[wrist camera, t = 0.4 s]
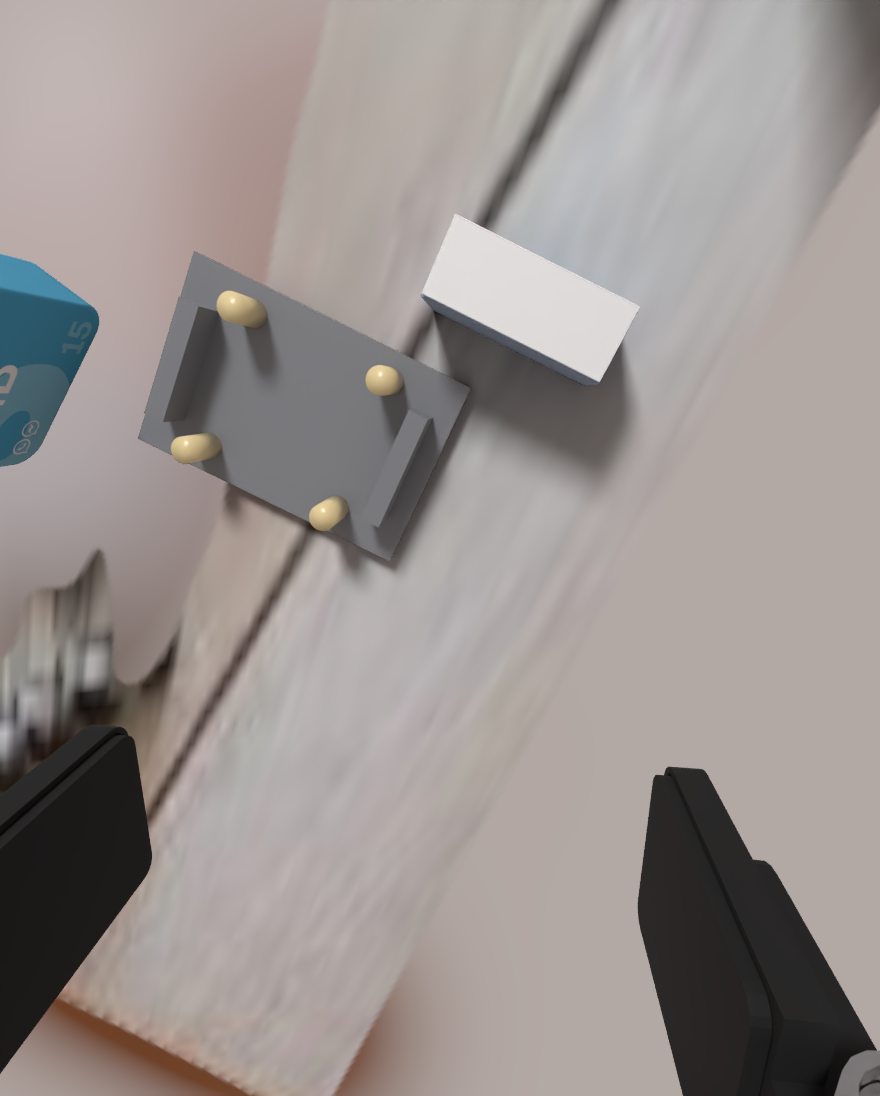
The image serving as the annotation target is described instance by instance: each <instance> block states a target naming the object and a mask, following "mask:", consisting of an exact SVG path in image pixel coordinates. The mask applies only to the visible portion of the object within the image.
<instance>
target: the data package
mask: <svg viewBox="0 0 880 1096" xmlns="http://www.w3.org/2000/svg"><path fill="white" fill-rule="evenodd" d="M98 326H99V316H98V313H97V311H96V310H95V309H94V308H93V307H92V306H91V305H89V304H88V303H87V302H85V301H84V300H83V299H81V298H80V297H79V296H77V295H76V294H75V293H73V292H72V291H71V290H69V289H68V288H67V287H65V286H64V285H62V284H61V283H60V282H58V281H57V280H56V279H54V278H53V277H52V276H50V275H49V274H48V273H46V272H45V271H44V270H42V269H41V268H40V267H38V266H37V265H36V264H34V263H32V262H29V261H25V260H21V259H18V258H14V257H11V256H7V255H3V254H0V467H1V466H8V465H14V464H18V463H20V462H23V461H25V460H27V459H28V458H30V457H31V456H32V455H33V454H34V453H35V452H36V451H37V450H38V449H39V447H40V446H41V444H42V442H43V440H44V438H45V436H46V434H47V432H48V430H49V428H50V426H51V424H52V422H53V420H54V418H55V416H56V414H57V412H58V410H59V408H60V406H61V403H62V401H63V400H64V398H65V396H66V394H67V391H68V389H69V387H70V385H71V383H72V381H73V379H74V377H75V375H76V373H77V371H78V369H79V367H80V365H81V363H82V361H83V359H84V357H85V355H86V353H87V351H88V349H89V346H90V345H91V343H92V341H93V338H94V337H95V334H96V332H97V330H98Z"/></svg>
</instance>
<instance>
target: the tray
mask: <svg viewBox="0 0 880 1096" xmlns="http://www.w3.org/2000/svg"><path fill="white" fill-rule="evenodd" d="M470 391H471V388H470V387H468V386H466V385H464V384H462V383H460V382H458V381H456V380H454V379H452V378H450V377H448V376H446V375H444V374H442V373H440V372H438V371H436V370H434V369H432V368H430V367H428V366H426V365H424V364H422V363H420V362H418V361H416V360H414V359H412V358H410V357H408V356H406V355H404V354H402V353H400V352H398V351H396V350H394V349H392V348H390V347H388V346H386V345H384V344H382V343H380V342H378V341H376V340H374V339H372V338H370V337H368V336H366V335H363V334H361V333H359V332H357V331H355V330H353V329H351V328H349V327H347V326H345V325H343V324H341V323H339V322H337V321H335V320H333V319H331V318H329V317H327V316H325V315H323V314H321V313H319V312H317V311H315V310H313V309H311V308H309V307H307V306H305V305H303V304H301V303H299V302H297V301H295V300H293V299H291V298H289V297H287V296H285V295H283V294H281V293H279V292H277V291H275V290H273V289H271V288H269V287H267V286H265V285H263V284H261V283H259V282H257V281H255V280H253V279H251V278H249V277H247V276H245V275H243V274H241V273H239V272H237V271H234V270H232V269H230V268H228V267H226V266H224V265H222V264H220V263H218V262H216V261H214V260H212V259H210V258H208V257H206V256H204V255H202V254H200V253H198V252H195V251H194V253H193V256H192V259H191V263H190V266H189V270H188V273H187V276H186V279H185V283H184V286H183V290H182V293H181V296H180V297H179V298H178V302H177V305H176V309H175V312H174V315H173V319H172V322H171V325H170V329H169V332H168V335H167V339H166V342H165V346H164V349H163V352H162V355H161V359H160V362H159V366H158V369H157V372H156V376H155V379H154V382H153V386H152V389H151V392H150V396H149V399H148V402H147V406H146V409H145V417H144V420H143V423H142V427H141V430H140V433H139V437H138V439H140V440H142V441H144V442H146V443H148V444H150V445H152V446H154V447H156V448H158V449H160V450H162V451H164V452H167V453H168V454H171V455H173V457H174V458H175V459H176V460H177V461H178V462H180V463H182V464H191V465H193V466H195V467H197V468H199V469H201V470H203V471H205V472H207V473H209V474H212V475H214V476H216V477H218V478H220V479H222V480H224V481H226V482H228V483H230V484H232V485H234V486H236V487H238V488H240V489H242V490H244V491H246V492H248V493H250V494H252V495H255V496H257V497H259V498H261V499H263V500H265V501H267V502H269V503H271V504H273V505H275V506H277V507H279V508H281V509H283V510H285V511H287V512H289V513H291V514H293V515H296V516H298V517H300V518H302V519H304V520H306V521H308V522H310V523H311V525H312V526H313V527H314V528H315V529H317V530H320V531H328V532H330V533H332V534H334V535H337V536H339V537H341V538H343V539H345V540H347V541H349V542H351V543H353V544H355V545H357V546H359V547H361V548H363V549H365V550H367V551H369V552H371V553H373V554H376V555H378V556H380V557H382V558H384V559H386V560H388V561H390V559H391V558H392V556H393V554H394V552H395V550H396V548H397V546H398V543H399V541H400V539H401V537H402V535H403V533H404V531H405V529H406V526H407V524H408V522H409V520H410V518H411V516H412V514H413V512H414V509H415V507H416V505H417V503H418V501H419V499H420V497H421V495H422V492H423V490H424V488H425V486H426V484H427V482H428V480H429V478H430V475H431V473H432V471H433V469H434V467H435V465H436V463H437V461H438V458H439V456H440V454H441V452H442V450H443V448H444V446H445V444H446V442H447V439H448V437H449V435H450V433H451V431H452V429H453V427H454V425H455V422H456V420H457V418H458V416H459V414H460V412H461V410H462V408H463V405H464V403H465V401H466V399H467V397H468V395H469V393H470Z"/></svg>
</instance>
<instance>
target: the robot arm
mask: <svg viewBox="0 0 880 1096" xmlns="http://www.w3.org/2000/svg"><path fill="white" fill-rule="evenodd" d="M151 861H152V851H151V844H150V838H149V831H148V825H147V818H146V812H145V805H144V799H143V792H142V786H141V779H140V773H139V766H138V760H137V753H136V747H135V742H134V739H133V738H132V737H131V736H128V733H127V731H126V730H125V729H124V728H122V727H114V726H100V725H91V726H87V727H86V728H84V729H83V730H81V731H80V732H79V733H78V734H76V735H75V736H74V737H73V738H71V739H70V740H69V741H68V742H66V743H65V744H64V745H63V746H61V747H60V748H59V749H58V750H56V751H55V752H54V753H53V754H51V755H50V756H49V757H48V758H46V759H45V760H44V761H43V762H41V763H40V764H39V765H38V766H36V767H35V768H34V769H33V770H31V771H30V772H29V773H28V774H26V775H25V776H24V777H23V778H21V779H20V780H19V781H18V782H16V783H15V784H14V785H13V786H11V787H10V788H9V789H8V790H6V791H5V792H4V793H3V794H1V795H0V1073H1V1072H2V1071H3V1069H4V1068H5V1067H6V1065H7V1064H8V1062H9V1061H10V1059H11V1058H12V1057H13V1056H14V1054H15V1053H16V1052H17V1050H18V1049H19V1048H20V1046H21V1045H22V1044H23V1042H24V1041H25V1039H26V1038H27V1037H28V1035H29V1034H30V1033H31V1031H32V1030H33V1028H34V1027H35V1026H36V1024H37V1023H38V1022H39V1021H40V1019H41V1018H42V1016H43V1015H44V1014H45V1012H46V1011H47V1009H48V1008H49V1007H50V1006H51V1004H52V1003H53V1002H54V1000H55V999H56V998H57V996H58V995H59V993H60V992H61V991H62V989H63V988H64V987H65V985H66V984H67V983H68V981H69V980H70V979H71V977H72V976H73V974H74V973H75V972H76V970H77V969H78V968H79V966H80V965H81V964H82V962H83V961H84V960H85V958H86V957H87V956H88V954H89V953H90V951H91V950H92V949H93V947H94V946H95V945H96V943H97V942H98V941H99V939H100V938H101V937H102V935H103V934H104V933H105V931H106V930H107V928H108V927H109V926H110V924H111V923H112V922H113V920H114V919H115V918H116V916H117V915H118V914H119V912H120V911H121V910H122V908H123V907H124V905H125V904H126V903H127V901H128V900H129V899H130V897H131V896H132V895H133V893H134V892H135V891H136V889H137V888H138V887H139V885H140V884H141V882H142V881H143V880H144V878H145V877H146V875H147V873H148V871H149V869H150V865H151ZM638 917H639V924H640V929H641V933H642V937H643V941H644V945H645V949H646V952H647V956H648V960H649V964H650V968H651V972H652V976H653V980H654V984H655V988H656V992H657V996H658V999H659V1003H660V1007H661V1011H662V1015H663V1019H664V1023H665V1027H666V1030H667V1035H668V1039H669V1043H670V1046H671V1050H672V1054H673V1058H674V1062H675V1066H676V1070H677V1074H678V1078H679V1082H680V1086H681V1089H682V1093H683V1096H880V1051H877V1049H876V1048H875V1046H874V1044H873V1042H872V1041H871V1039H870V1037H869V1036H868V1034H867V1032H866V1030H865V1028H864V1027H863V1025H862V1023H861V1022H860V1020H859V1018H858V1016H857V1014H856V1013H855V1011H854V1009H853V1007H852V1005H851V1004H850V1002H849V1000H848V999H847V997H846V995H845V993H844V991H843V990H842V988H841V986H840V985H839V983H838V981H837V979H836V977H835V976H834V974H833V972H832V970H831V969H830V967H829V965H828V963H827V961H826V960H825V958H824V956H823V954H822V953H821V951H820V949H819V947H818V946H817V944H816V942H815V940H814V939H813V937H812V935H811V934H810V932H809V930H808V928H807V926H806V925H805V923H804V921H803V919H802V917H801V916H800V914H799V912H798V910H797V909H796V907H795V905H794V903H793V902H792V900H791V898H790V896H789V895H788V893H787V891H786V889H785V888H784V886H783V884H782V882H781V881H780V879H779V877H778V875H777V874H776V872H775V871H774V869H773V868H772V867H771V865H769V864H768V863H767V862H765V861H760V860H753V859H752V857H751V856H750V854H749V852H748V850H747V848H746V846H745V844H744V842H743V841H742V839H741V837H740V835H739V833H738V831H737V829H736V827H735V825H734V824H733V822H732V820H731V818H730V816H729V814H728V812H727V810H726V809H725V807H724V805H723V803H722V801H721V799H720V798H719V795H718V794H717V792H716V790H715V788H714V786H713V784H712V782H711V781H710V779H709V777H708V775H707V773H706V772H705V771H704V770H702V769H692V768H679V767H668V768H666V770H665V774H664V775H655V777H654V779H653V786H652V793H651V801H650V809H649V817H648V826H647V833H646V842H645V849H644V857H643V866H642V873H641V881H640V889H639V897H638Z"/></svg>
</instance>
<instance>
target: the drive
mask: <svg viewBox="0 0 880 1096" xmlns="http://www.w3.org/2000/svg"><path fill="white" fill-rule="evenodd" d="M421 297H422V298H423V299H424V300H425V301H426V303H427V304H428V305H429V306H430V307H431V308H432V309H433V310H434V311H436V312H438V313H440V314H442V315H444V316H446V317H448V318H450V319H452V320H454V321H456V322H458V323H460V324H462V325H464V326H466V327H468V328H470V329H472V330H474V331H476V332H478V333H480V334H482V335H484V336H486V337H488V338H490V339H492V340H494V341H496V342H498V343H500V344H502V345H504V346H506V347H508V348H510V349H512V350H514V351H516V352H518V353H520V354H522V355H524V356H526V357H528V358H530V359H532V360H534V361H536V362H538V363H540V364H542V365H544V366H546V367H548V368H550V369H552V370H554V371H556V372H558V373H560V374H562V375H564V376H566V377H568V378H570V379H572V380H574V381H576V382H578V383H580V384H582V385H584V386H588V385H599V383H600V381H601V379H602V378H603V376H604V374H605V372H606V370H607V368H608V366H609V365H610V363H611V361H612V359H613V357H614V355H615V353H616V352H617V350H618V348H619V346H620V344H621V342H622V340H623V339H624V337H625V335H626V333H627V331H628V329H629V327H630V326H631V324H632V322H633V320H634V318H635V316H636V314H637V313H638V311H639V309H640V306H638V305H636V304H634V303H632V302H630V301H628V300H626V299H624V298H622V297H620V296H618V295H616V294H614V293H612V292H610V291H608V290H606V289H604V288H602V287H600V286H598V285H596V284H594V283H592V282H590V281H588V280H586V279H584V278H582V277H580V276H578V275H576V274H574V273H572V272H570V271H568V270H566V269H564V268H562V267H560V266H558V265H556V264H554V263H552V262H550V261H548V260H546V259H544V258H542V257H540V256H538V255H536V254H534V253H532V252H530V251H528V250H526V249H525V248H523V247H521V246H519V245H517V244H515V243H513V242H511V241H509V240H507V239H505V238H503V237H501V236H499V235H497V234H495V233H493V232H491V231H489V230H487V229H485V228H483V227H481V226H479V225H477V224H475V223H473V222H471V221H469V220H467V219H465V218H463V217H461V216H459V215H457V214H455V216H454V218H453V220H452V223H451V225H450V227H449V230H448V232H447V234H446V237H445V239H444V242H443V244H442V246H441V249H440V251H439V253H438V256H437V258H436V260H435V263H434V265H433V268H432V270H431V272H430V275H429V277H428V279H427V282H426V284H425V286H424V289H423V291H422V294H421Z"/></svg>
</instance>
